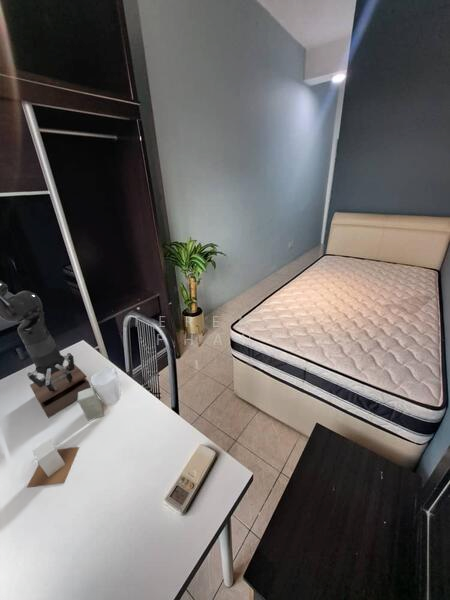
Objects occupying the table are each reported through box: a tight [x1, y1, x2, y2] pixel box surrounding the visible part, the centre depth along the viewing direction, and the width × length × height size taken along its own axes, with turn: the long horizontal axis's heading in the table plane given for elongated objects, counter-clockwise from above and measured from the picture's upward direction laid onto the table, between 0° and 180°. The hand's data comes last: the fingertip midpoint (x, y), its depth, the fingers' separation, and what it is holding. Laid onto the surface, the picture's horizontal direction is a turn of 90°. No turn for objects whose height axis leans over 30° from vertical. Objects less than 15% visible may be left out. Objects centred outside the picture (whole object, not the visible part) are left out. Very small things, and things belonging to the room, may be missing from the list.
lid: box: [29, 363, 87, 405], centre depth 93 cm, size 16×16×5 cm
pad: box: [26, 446, 80, 488], centre depth 74 cm, size 10×10×1 cm
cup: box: [90, 367, 123, 406], centre depth 92 cm, size 9×9×12 cm
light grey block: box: [32, 438, 65, 477], centre depth 72 cm, size 4×4×8 cm
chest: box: [40, 377, 92, 419], centre depth 96 cm, size 16×16×6 cm
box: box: [76, 386, 105, 421], centre depth 86 cm, size 5×4×11 cm
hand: (61, 385), depth 90 cm, fingers closed on lid, 5 cm apart
